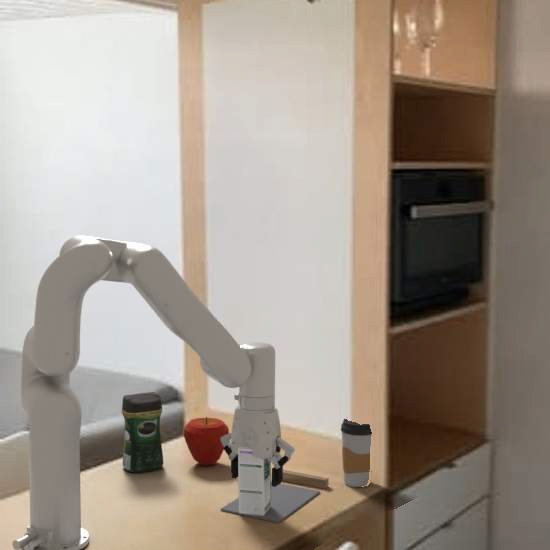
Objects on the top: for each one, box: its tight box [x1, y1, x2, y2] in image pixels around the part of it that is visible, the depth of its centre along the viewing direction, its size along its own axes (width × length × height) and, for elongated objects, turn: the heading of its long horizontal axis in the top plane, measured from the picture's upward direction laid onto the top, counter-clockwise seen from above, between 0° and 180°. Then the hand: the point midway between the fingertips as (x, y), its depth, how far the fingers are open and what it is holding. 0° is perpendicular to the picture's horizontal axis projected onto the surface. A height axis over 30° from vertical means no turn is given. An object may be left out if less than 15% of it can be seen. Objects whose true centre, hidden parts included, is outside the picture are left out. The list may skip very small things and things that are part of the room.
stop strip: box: [282, 469, 330, 489], centre depth 206 cm, size 2×14×2 cm, turn 62°
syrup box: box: [237, 447, 272, 516], centre depth 187 cm, size 6×6×14 cm
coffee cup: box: [340, 418, 372, 488], centre depth 205 cm, size 8×8×15 cm
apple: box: [183, 416, 230, 466], centre depth 217 cm, size 11×11×12 cm
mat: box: [220, 481, 321, 524], centre depth 194 cm, size 20×14×1 cm
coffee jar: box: [121, 391, 164, 474], centre depth 214 cm, size 10×8×19 cm
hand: (256, 480), depth 187 cm, fingers open, 9 cm apart
